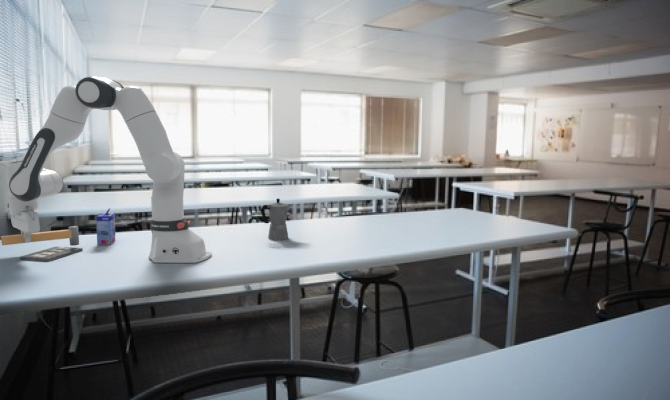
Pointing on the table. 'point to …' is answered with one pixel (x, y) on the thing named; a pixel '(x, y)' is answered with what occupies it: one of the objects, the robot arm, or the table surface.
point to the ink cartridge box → (105, 228)
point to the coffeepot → (277, 220)
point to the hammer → (45, 236)
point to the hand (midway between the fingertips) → (27, 242)
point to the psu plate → (51, 253)
